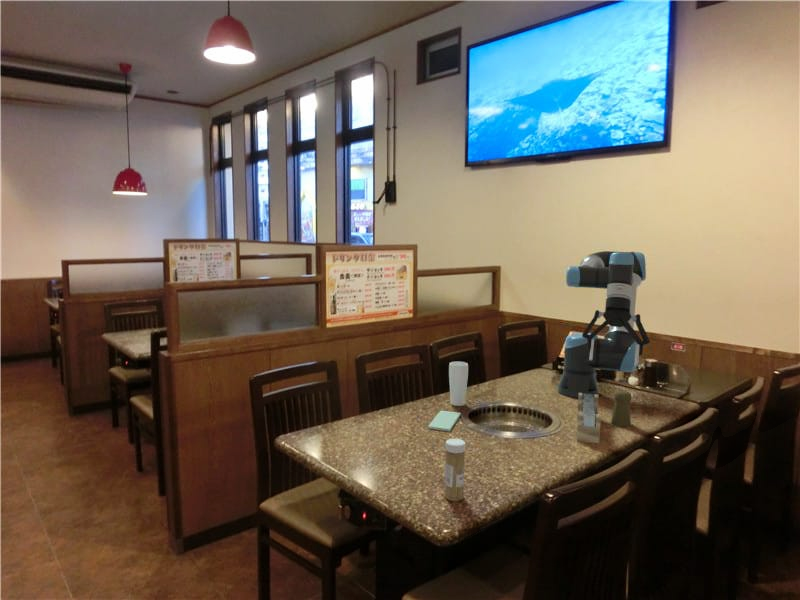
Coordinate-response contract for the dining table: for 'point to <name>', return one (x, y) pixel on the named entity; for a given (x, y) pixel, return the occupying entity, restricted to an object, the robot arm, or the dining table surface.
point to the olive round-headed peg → (621, 409)
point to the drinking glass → (458, 382)
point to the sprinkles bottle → (454, 469)
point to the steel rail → (588, 410)
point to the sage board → (444, 421)
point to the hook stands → (588, 432)
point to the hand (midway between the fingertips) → (613, 362)
